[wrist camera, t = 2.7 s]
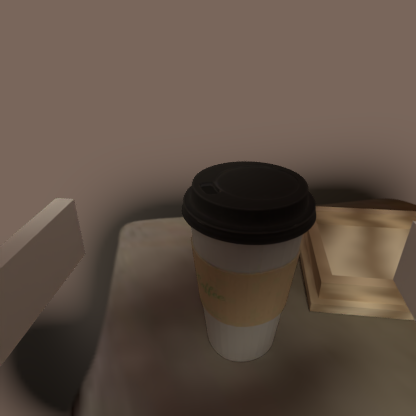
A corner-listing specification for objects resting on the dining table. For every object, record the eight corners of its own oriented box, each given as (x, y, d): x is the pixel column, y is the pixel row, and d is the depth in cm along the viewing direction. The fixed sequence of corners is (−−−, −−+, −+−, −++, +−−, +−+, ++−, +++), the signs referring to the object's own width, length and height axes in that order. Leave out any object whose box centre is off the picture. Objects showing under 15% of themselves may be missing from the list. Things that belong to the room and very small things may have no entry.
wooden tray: (421, 228, 45) (428, 209, 44) (501, 327, 31) (515, 303, 29) (293, 221, 47) (295, 202, 46) (309, 311, 33) (314, 287, 31)
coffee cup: (166, 335, 30) (151, 183, 23) (234, 283, 36) (239, 149, 29) (250, 407, 24) (266, 235, 17) (314, 331, 30) (345, 179, 23)
